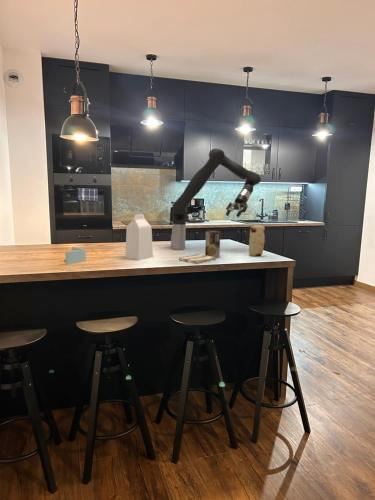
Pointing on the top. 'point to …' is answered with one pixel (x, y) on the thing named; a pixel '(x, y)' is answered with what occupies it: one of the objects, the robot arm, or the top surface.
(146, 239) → the milk
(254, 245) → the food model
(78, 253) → the l-shaped corner panel
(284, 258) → the top surface
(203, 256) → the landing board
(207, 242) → the coffee box
